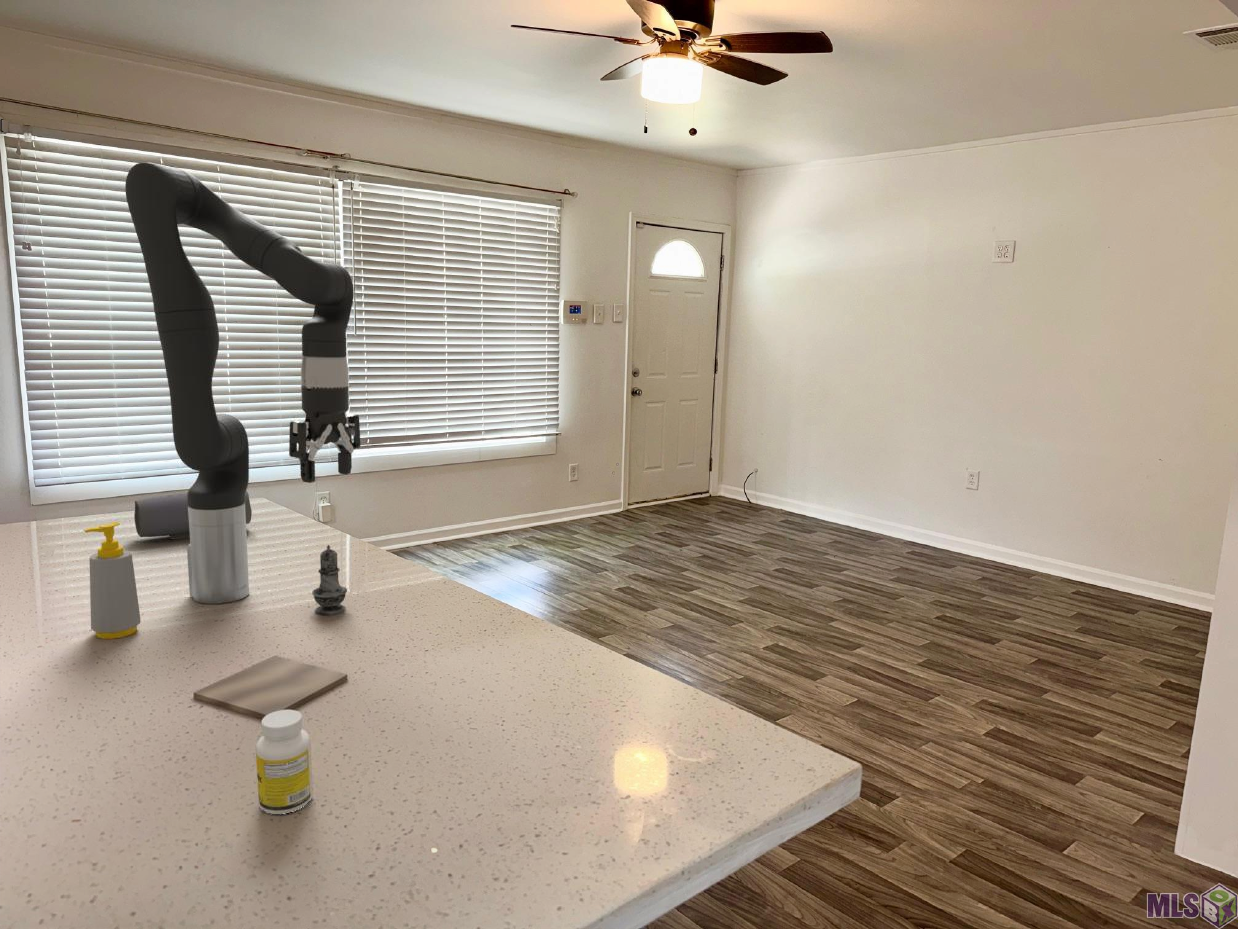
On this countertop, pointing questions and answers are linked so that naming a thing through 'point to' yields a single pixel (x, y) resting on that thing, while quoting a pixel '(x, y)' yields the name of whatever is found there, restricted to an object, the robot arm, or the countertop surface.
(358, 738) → the countertop surface
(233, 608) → the countertop surface
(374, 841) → the countertop surface
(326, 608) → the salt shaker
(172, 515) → the bluetooth speaker
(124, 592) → the soap bottle
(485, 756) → the countertop surface
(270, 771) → the supplement bottle
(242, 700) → the walnut pad
